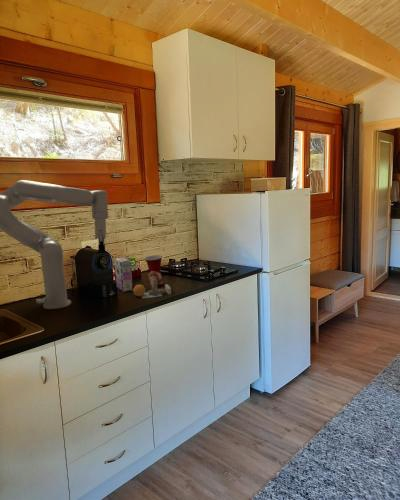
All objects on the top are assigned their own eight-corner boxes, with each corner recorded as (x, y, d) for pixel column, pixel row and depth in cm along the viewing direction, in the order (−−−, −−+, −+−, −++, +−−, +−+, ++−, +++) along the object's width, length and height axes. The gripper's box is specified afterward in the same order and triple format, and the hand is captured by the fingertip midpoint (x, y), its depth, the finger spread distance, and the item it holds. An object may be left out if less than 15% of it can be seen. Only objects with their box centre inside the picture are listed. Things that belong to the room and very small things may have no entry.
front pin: (148, 291, 191) (165, 289, 194) (148, 290, 194) (164, 288, 196) (149, 295, 192) (165, 293, 194) (148, 294, 194) (165, 292, 196)
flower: (141, 283, 210) (145, 273, 206) (150, 276, 217) (154, 266, 213) (155, 294, 208) (159, 283, 204) (163, 286, 216) (168, 276, 211)
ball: (146, 285, 189) (145, 297, 189) (144, 283, 194) (144, 294, 195) (134, 285, 187) (133, 297, 188) (133, 283, 193) (132, 294, 194)
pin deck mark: (142, 298, 187) (142, 298, 187) (140, 293, 197) (140, 293, 197) (162, 296, 189) (162, 295, 189) (159, 291, 199) (159, 290, 199)
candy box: (133, 290, 203) (131, 260, 201) (122, 292, 201) (120, 261, 198) (126, 285, 216) (124, 256, 213) (116, 286, 213) (113, 258, 211)
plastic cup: (142, 276, 235) (140, 257, 233) (154, 273, 244) (153, 254, 242) (155, 278, 229) (153, 258, 227) (167, 274, 237) (165, 255, 235)
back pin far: (151, 294, 194) (150, 277, 193) (151, 292, 197) (150, 276, 195) (156, 293, 195) (155, 277, 194) (155, 292, 197) (154, 276, 196)
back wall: (168, 294, 192) (167, 288, 192) (165, 290, 201) (164, 284, 200) (171, 294, 193) (170, 288, 192) (168, 289, 201) (167, 284, 201)
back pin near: (153, 296, 190) (152, 280, 188) (152, 295, 192) (151, 278, 191) (158, 296, 190) (156, 279, 189) (157, 294, 193) (156, 278, 191)
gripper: (92, 215, 193) (94, 251, 196) (91, 216, 179) (93, 255, 181) (108, 214, 195) (109, 250, 197) (107, 216, 180) (109, 254, 183)
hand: (101, 252), depth 189 cm, fingers closed
